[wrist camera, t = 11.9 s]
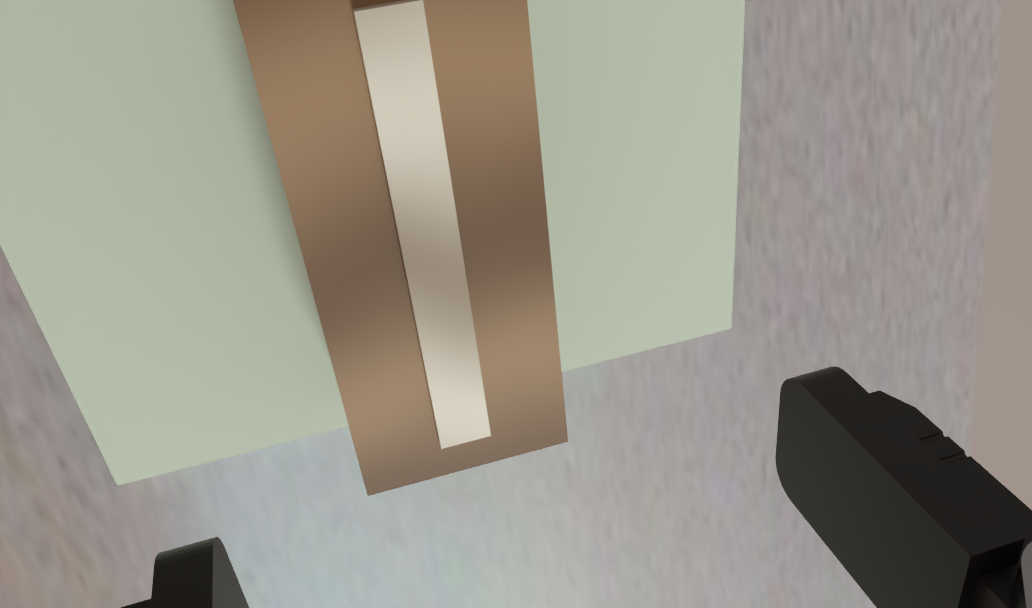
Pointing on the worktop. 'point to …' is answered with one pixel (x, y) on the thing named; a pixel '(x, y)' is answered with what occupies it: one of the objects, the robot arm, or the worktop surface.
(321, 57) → the cardboard box
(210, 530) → the worktop surface
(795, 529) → the worktop surface
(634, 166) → the sage mat
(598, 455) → the worktop surface
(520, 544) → the worktop surface
